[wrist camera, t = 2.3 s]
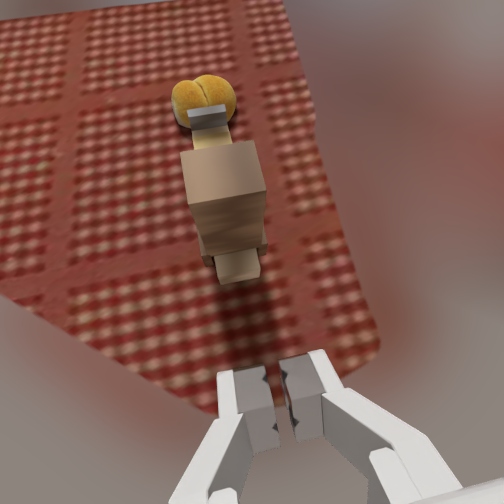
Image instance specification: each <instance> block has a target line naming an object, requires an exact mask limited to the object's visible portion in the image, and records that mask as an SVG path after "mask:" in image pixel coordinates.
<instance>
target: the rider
mask: <svg viewBox="0 0 504 504" xmlns="http://www.w3.org/2000/svg"><path fill="white" fill-rule="evenodd" d="M180 155H181V162H182V168H183V174H184V181H185V187H186V194H187V200H188V205H189V208H190V210H191V213H192V215H193V218H194V221H195V223H196V227H197V233H198V239H199V245H200V251H201V257H202V259H203V261H204V263H205V266H206V267H208V266H213V265H214V263H213V257H212V256H217V255H223V254H228V253H233V252H238V251H243V250H248V249H253V248H257V253H258V256H263V255H266V252H267V245H268V242H267V238H266V234H265V230H264V226H263V222H264V212H265V201H266V191H267V190H266V186H265V182H264V178H263V175H262V171H261V167H260V163H259V159H258V156H257V152H256V148H255V144H254V140H251V141H245V142H239V143H233V144H227V145H221V146H215V147H209V148H203V149H197V150H191V151H185V152H180Z"/></svg>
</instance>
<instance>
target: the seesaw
mask: <svg viewBox="0 0 504 504" xmlns="http://www.w3.org/2000/svg"><path fill="white" fill-rule="evenodd" d="M187 113H188V118H189V122H190V126H191V130H192V135H193V137H192V138H193V144H194V150H197V149H203V148H209V147H215V146H221V145H227V144H232V140H231V136H230V131H229V130H228V125H227V115H226V108H225V104H222V105H216V106H209V107H203V108H196V109H190V110H187ZM214 258H215V264H216V270H217V275H218V279H219V282H220V284H221V285H224V284H228V283H233V282H238V281H243V280H248V279H253V278H258V277H260V269H261V268H260V264H259V260H258V255H257V251H256V248H253V249H248V250H243V251H238V252H233V253H228V254H223V255H217V256H214Z"/></svg>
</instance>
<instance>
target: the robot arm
mask: <svg viewBox="0 0 504 504" xmlns="http://www.w3.org/2000/svg"><path fill="white" fill-rule="evenodd" d="M278 369H279V372H280V375H281V378H280V382H281V388H282V393H283V397H284V401H285V404H286V408H287V410H289V414H290V421H291V425H292V428H293V431H294V435H295V438H296V442H302V441H307V440H311V439H316V438H320V437H325V439H326V440H327V441H328V442H329V443H330V444H331V445H332V446H333V447H334V448H335V449H336V450H338V451H339V452H340V453H341V454H342V455H343V456H344V457H345V458H346V459H347V460H348V461H349V462H350V463H351V464H352V465H353V466H354V467H356V468H357V469H358V470H359V471H360V472H361V473H362V474H363V475H364V476H365V477H366V478H367V479H368V500H367V504H504V477H502V478H499V479H495V480H491V481H488V482H484V483H481V484H477V485H473V486H470V487H466V488H463V487H462V486H461V484H460V483H459V481H458V480H457V479H456V477H455V476H454V475H453V473H452V472H451V470H450V469H449V467H448V466H447V464H446V463H445V462H444V460H443V459H442V457H441V456H440V454H439V453H438V452H437V450H436V449H435V447H434V446H433V445H432V443H431V442H430V440H429V439H428V437H427V436H426V435H424V434H422V433H421V432H420V431H418V430H416V429H415V428H413V427H411V426H410V425H408V424H407V423H405V422H403V421H402V420H400V419H399V418H397V417H395V416H394V415H392V414H391V413H389V412H387V411H386V410H384V409H383V408H381V407H379V406H378V405H376V404H375V403H373V402H371V401H370V400H368V399H367V398H365V397H363V396H362V395H360V394H358V393H357V392H355V391H354V390H352V389H350V388H345V389H344V387H343V385H342V383H341V381H340V379H339V377H338V375H337V374H336V372H335V370H334V368H333V366H332V364H331V362H330V360H329V359H328V357H327V355H326V353H325V351H324V350H323V349H320V350H315V351H311V352H307V353H303V354H299V355H294V356H290V357H286V358H282V359H278ZM217 392H218V409H219V419H216V420H214V421H213V423H212V425H211V427H210V428H209V430H208V432H207V434H206V436H205V437H204V439H203V441H202V443H201V444H200V446H199V448H198V450H197V452H196V453H195V455H194V457H193V459H192V461H191V462H190V464H189V466H188V468H187V470H186V471H185V473H184V475H183V477H182V478H181V480H180V482H179V484H178V486H177V487H176V489H175V491H174V493H173V495H172V496H171V498H170V500H169V504H240V502H239V499H240V496H241V493H242V490H243V487H244V484H245V481H246V478H247V475H248V472H249V469H250V466H251V463H252V460H253V457H254V456H253V454H257V453H260V452H263V451H267V450H271V449H274V448H278V447H280V446H281V445H280V439H279V432H278V428H277V424H276V421H277V420H276V416H275V409H274V404H273V400H272V395H271V391H270V387H269V384H268V382H267V376H266V371H265V367H264V364H263V363H261V364H256V365H251V366H246V367H241V368H236V369H233V370H228V371H223V372H218V373H217Z"/></svg>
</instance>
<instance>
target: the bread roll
mask: <svg viewBox="0 0 504 504" xmlns="http://www.w3.org/2000/svg"><path fill="white" fill-rule="evenodd" d="M171 104H172V107H173V111H174V114H175V117H176V119H177V122H178V123H179V124H180V125H181V126H184V127H187V128H191V126H190V122H189V118H188V113H187V110H190V109H196V108H203V107H209V106H216V105H222V104H225V108H226V115H227V122H228V121H229V120H230V119H231V117H232V115H233V113H234V111H235V107H236V96H235V93H234V91H233V89H232V87H231V85H230V84H229V83H228V82H227V81H226V80H224V79H223V78H220V77H217V76H212V75H203V76H200V77H198V78H197V79H195V80H194V81H188V80H186V81H181V82H179V83H178V84H177V85H176V86H175V87H174V88H173V91H172V103H171Z"/></svg>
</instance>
